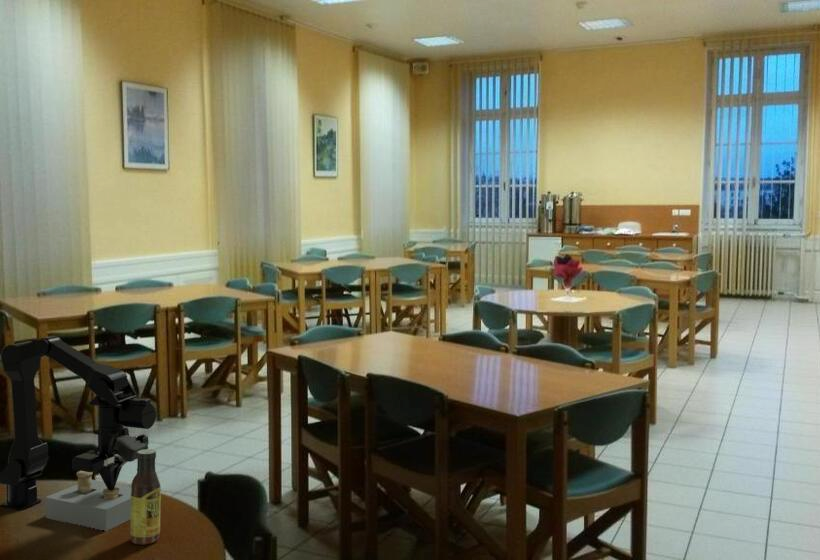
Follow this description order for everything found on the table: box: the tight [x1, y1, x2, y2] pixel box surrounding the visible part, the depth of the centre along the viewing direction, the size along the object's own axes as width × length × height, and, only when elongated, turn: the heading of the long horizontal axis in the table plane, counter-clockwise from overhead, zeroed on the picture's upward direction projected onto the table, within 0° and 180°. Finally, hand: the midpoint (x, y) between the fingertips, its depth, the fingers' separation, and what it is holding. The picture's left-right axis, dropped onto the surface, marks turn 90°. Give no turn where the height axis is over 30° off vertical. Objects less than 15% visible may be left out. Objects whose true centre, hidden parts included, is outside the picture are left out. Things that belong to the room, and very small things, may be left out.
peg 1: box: [76, 470, 94, 495], centre depth 187 cm, size 4×4×6 cm
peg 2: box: [103, 487, 119, 500], centre depth 184 cm, size 4×4×6 cm
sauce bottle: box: [129, 448, 162, 546], centre depth 171 cm, size 6×6×20 cm
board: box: [45, 479, 131, 532], centre depth 186 cm, size 18×14×5 cm
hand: (111, 489), depth 184 cm, fingers closed, pressing on peg 2
